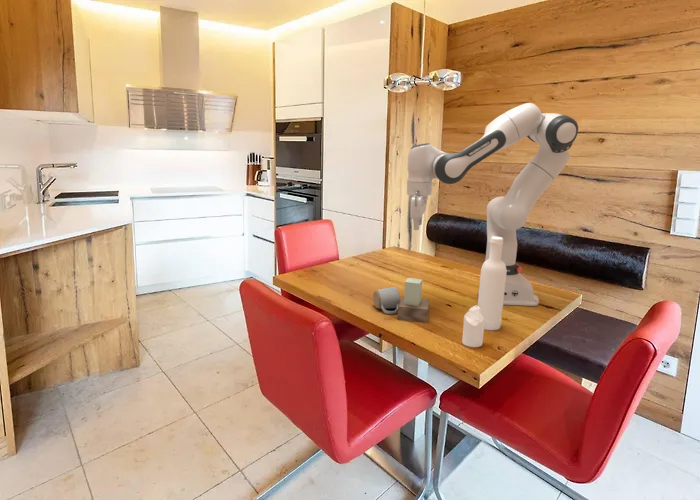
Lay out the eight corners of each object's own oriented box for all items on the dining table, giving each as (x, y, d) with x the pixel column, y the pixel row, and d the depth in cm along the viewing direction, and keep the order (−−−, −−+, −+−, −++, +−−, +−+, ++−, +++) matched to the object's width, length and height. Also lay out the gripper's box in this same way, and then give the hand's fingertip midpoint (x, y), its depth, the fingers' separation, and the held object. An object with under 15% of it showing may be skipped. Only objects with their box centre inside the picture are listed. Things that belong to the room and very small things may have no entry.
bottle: (479, 330, 138) (488, 240, 130) (472, 320, 145) (480, 234, 138) (504, 331, 138) (514, 240, 131) (496, 321, 145) (505, 235, 138)
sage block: (421, 301, 150) (422, 279, 148) (418, 306, 145) (419, 283, 143) (407, 299, 151) (408, 277, 149) (403, 304, 147) (404, 281, 145)
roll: (465, 308, 124) (464, 301, 129) (462, 346, 127) (461, 338, 132) (486, 310, 123) (485, 303, 128) (483, 348, 126) (481, 340, 131)
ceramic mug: (371, 305, 158) (372, 285, 156) (392, 303, 160) (393, 283, 158) (381, 316, 148) (382, 295, 146) (403, 314, 150) (404, 293, 148)
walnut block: (428, 312, 153) (429, 299, 152) (426, 323, 143) (427, 309, 142) (400, 309, 155) (401, 296, 154) (397, 320, 146) (397, 306, 144)
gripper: (425, 193, 144) (423, 233, 147) (430, 187, 163) (428, 222, 166) (406, 192, 145) (405, 232, 149) (413, 186, 164) (412, 222, 168)
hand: (417, 227), depth 158 cm, fingers open, 8 cm apart
